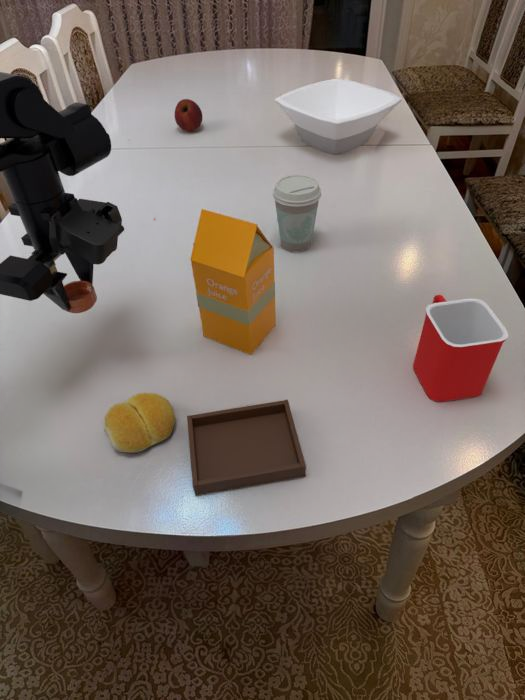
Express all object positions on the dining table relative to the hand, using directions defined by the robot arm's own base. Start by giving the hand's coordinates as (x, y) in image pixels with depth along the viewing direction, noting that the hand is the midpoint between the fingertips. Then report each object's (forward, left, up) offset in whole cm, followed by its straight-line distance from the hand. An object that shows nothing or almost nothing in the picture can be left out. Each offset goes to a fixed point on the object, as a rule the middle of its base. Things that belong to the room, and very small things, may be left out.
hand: (77, 298), depth 68 cm
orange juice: (+22, 0, -11) cm, 24 cm away
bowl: (+56, +66, -11) cm, 87 cm away
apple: (+20, +83, -11) cm, 86 cm away
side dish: (0, 0, -1) cm, 1 cm away
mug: (+49, -14, -11) cm, 52 cm away
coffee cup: (+36, +22, -11) cm, 43 cm away
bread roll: (+6, -16, -11) cm, 20 cm away
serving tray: (+19, -22, -11) cm, 31 cm away
